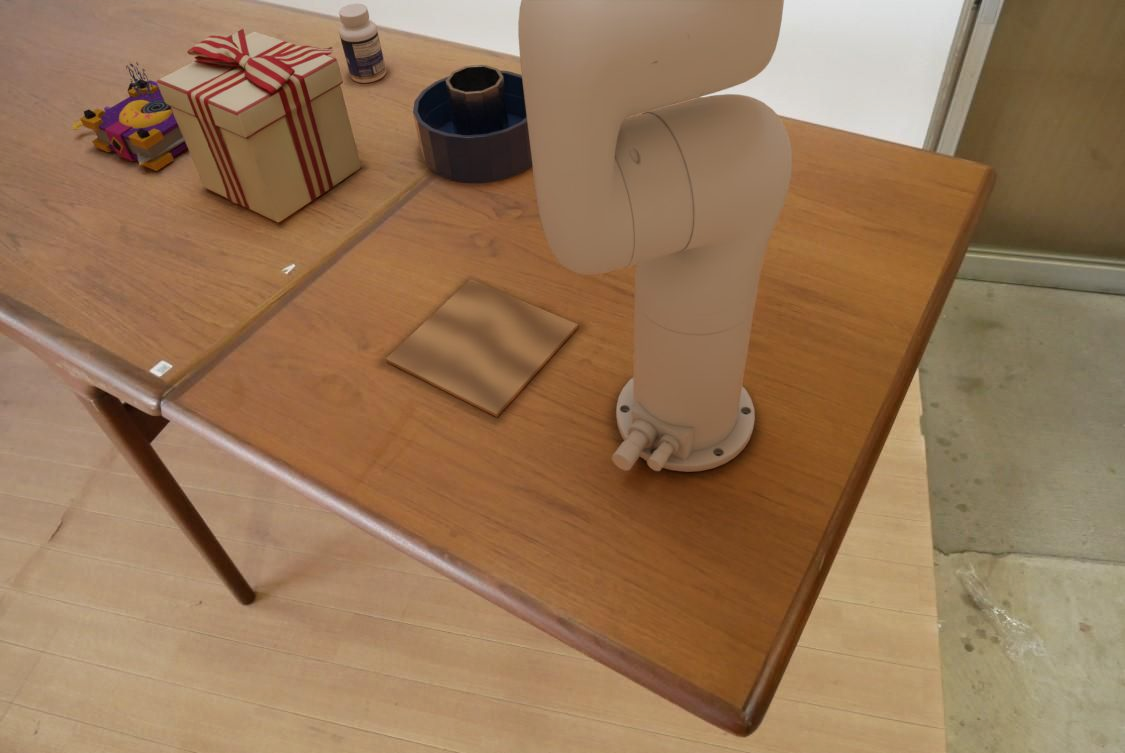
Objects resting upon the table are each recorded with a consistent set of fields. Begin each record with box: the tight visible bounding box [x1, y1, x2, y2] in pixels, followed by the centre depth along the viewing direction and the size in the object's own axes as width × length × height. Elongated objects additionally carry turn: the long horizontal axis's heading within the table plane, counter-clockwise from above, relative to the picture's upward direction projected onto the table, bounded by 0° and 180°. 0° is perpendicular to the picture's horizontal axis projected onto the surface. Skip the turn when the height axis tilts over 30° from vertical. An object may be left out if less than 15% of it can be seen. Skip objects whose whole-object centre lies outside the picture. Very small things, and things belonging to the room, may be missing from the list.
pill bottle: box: [338, 3, 387, 84], centre depth 121 cm, size 5×5×10 cm
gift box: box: [155, 28, 362, 223], centre depth 102 cm, size 17×18×17 cm
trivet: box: [385, 278, 579, 418], centre depth 86 cm, size 14×14×1 cm
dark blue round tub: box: [412, 70, 533, 184], centre depth 108 cm, size 16×16×6 cm
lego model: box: [71, 58, 188, 172], centre depth 111 cm, size 14×25×12 cm, turn 59°
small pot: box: [446, 64, 509, 135], centre depth 106 cm, size 7×7×9 cm
